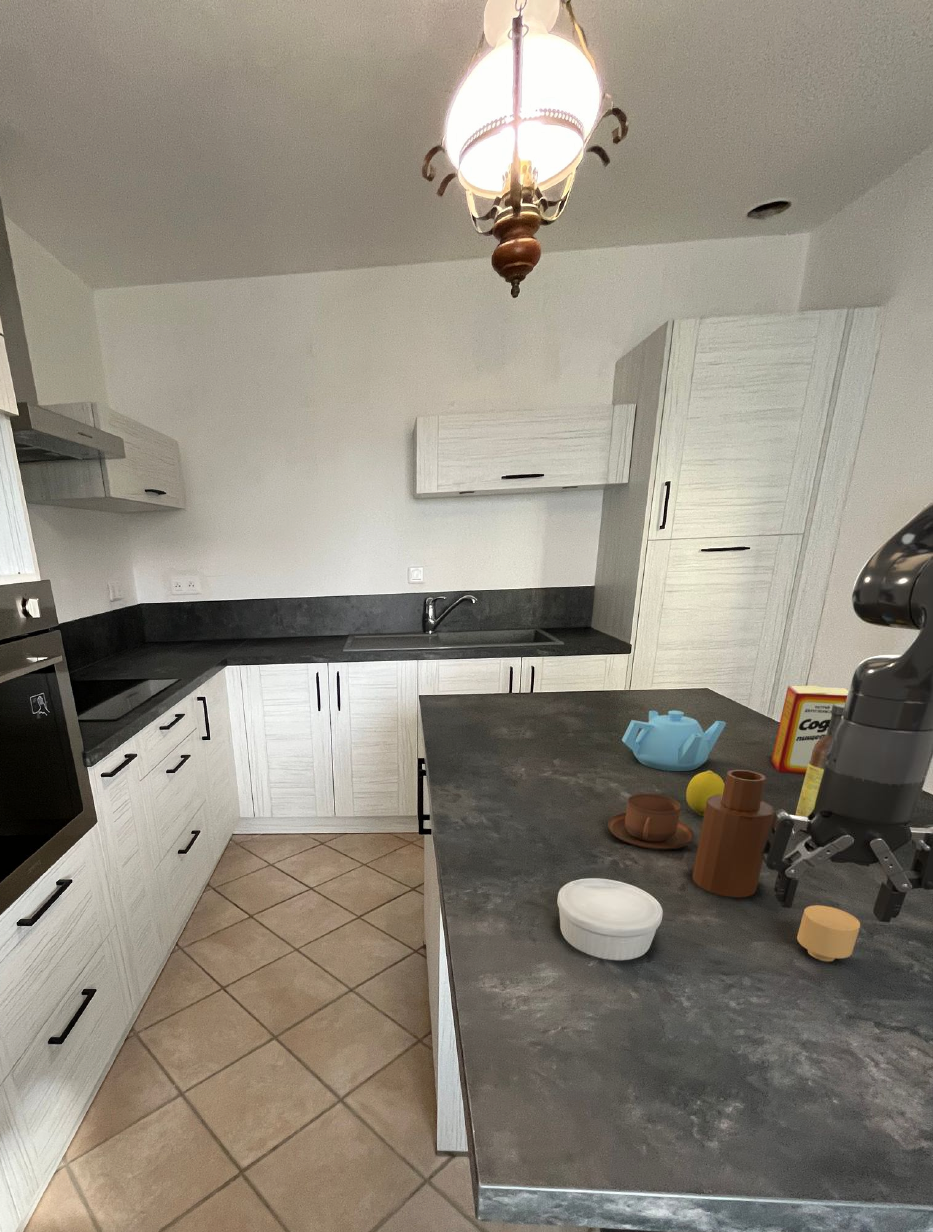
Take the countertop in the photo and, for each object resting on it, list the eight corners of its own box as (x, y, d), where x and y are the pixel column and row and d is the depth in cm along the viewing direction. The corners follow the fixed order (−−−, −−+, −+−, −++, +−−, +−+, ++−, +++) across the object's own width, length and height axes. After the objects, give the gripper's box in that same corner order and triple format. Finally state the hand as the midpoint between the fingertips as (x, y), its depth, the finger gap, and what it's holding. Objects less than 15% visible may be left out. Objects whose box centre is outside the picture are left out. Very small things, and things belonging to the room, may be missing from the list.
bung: (838, 951, 69) (850, 909, 67) (854, 978, 65) (868, 933, 63) (787, 943, 71) (798, 902, 69) (799, 969, 66) (812, 925, 64)
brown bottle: (747, 878, 84) (772, 768, 78) (760, 906, 78) (788, 788, 72) (688, 871, 87) (708, 763, 81) (696, 897, 80) (718, 782, 75)
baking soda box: (827, 765, 123) (847, 686, 118) (836, 776, 118) (858, 693, 112) (771, 761, 127) (788, 684, 121) (778, 771, 121) (796, 691, 116)
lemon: (719, 824, 100) (729, 778, 97) (681, 818, 103) (689, 773, 100) (721, 812, 104) (730, 768, 102) (684, 806, 107) (691, 763, 104)
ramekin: (630, 912, 78) (636, 875, 76) (675, 968, 67) (683, 927, 65) (541, 915, 78) (545, 878, 76) (572, 971, 67) (577, 930, 65)
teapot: (646, 746, 139) (653, 699, 135) (720, 760, 129) (729, 709, 125) (616, 763, 129) (622, 712, 125) (693, 779, 119) (702, 725, 115)
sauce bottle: (832, 841, 93) (868, 713, 86) (785, 828, 98) (815, 705, 91) (848, 829, 97) (883, 705, 90) (802, 817, 102) (832, 698, 94)
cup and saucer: (702, 860, 89) (709, 821, 87) (613, 853, 92) (618, 816, 90) (680, 825, 100) (686, 790, 98) (601, 820, 103) (605, 786, 101)
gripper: (799, 772, 59) (762, 918, 64) (991, 787, 54) (933, 943, 60) (778, 749, 65) (746, 883, 71) (948, 761, 60) (899, 904, 66)
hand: (831, 911), depth 65 cm, fingers open, 8 cm apart
